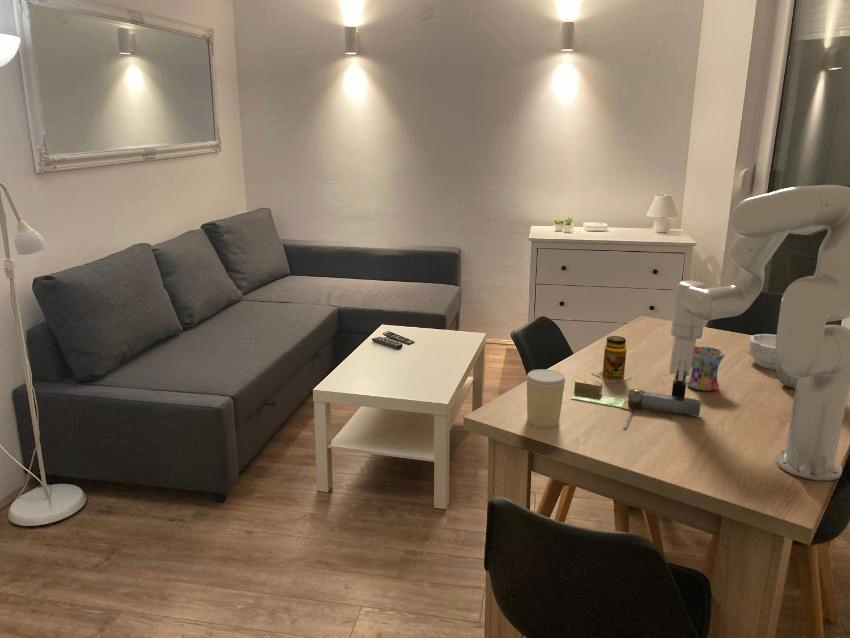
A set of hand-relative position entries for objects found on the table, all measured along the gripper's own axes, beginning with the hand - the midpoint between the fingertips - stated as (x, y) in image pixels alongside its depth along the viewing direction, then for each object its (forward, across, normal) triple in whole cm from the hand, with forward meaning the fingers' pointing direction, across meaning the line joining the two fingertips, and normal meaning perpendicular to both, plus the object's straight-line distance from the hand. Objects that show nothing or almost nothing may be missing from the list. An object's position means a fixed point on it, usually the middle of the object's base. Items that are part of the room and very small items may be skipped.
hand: (677, 396), depth 183 cm
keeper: (+3, +4, -20) cm, 20 cm away
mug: (+3, -18, +7) cm, 19 cm away
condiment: (+3, -15, -19) cm, 24 cm away
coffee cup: (+3, +24, -30) cm, 39 cm away
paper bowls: (+3, -45, +27) cm, 53 cm away
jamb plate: (+2, +12, -8) cm, 14 cm away
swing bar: (+2, +6, -3) cm, 7 cm away
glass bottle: (+3, -27, +30) cm, 41 cm away
